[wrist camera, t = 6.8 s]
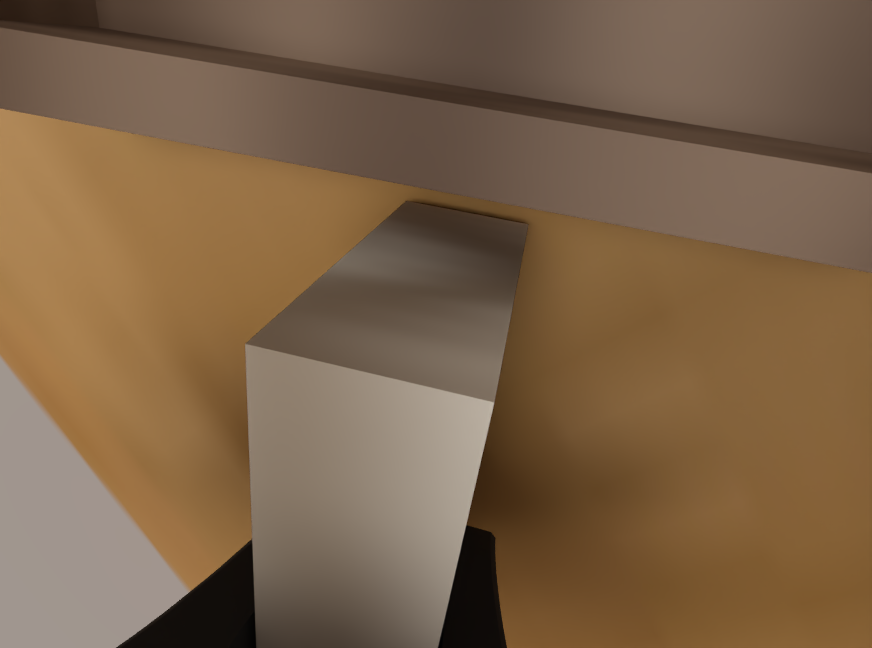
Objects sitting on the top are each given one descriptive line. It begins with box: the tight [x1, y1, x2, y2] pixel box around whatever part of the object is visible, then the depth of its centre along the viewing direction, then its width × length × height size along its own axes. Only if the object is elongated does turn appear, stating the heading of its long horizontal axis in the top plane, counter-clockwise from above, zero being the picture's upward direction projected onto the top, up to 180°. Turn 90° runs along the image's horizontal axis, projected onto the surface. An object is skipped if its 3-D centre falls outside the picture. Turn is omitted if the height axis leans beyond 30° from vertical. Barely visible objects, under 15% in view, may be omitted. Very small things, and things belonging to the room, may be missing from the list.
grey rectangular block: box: [245, 201, 529, 648], centre depth 10 cm, size 2×11×6 cm, turn 172°
